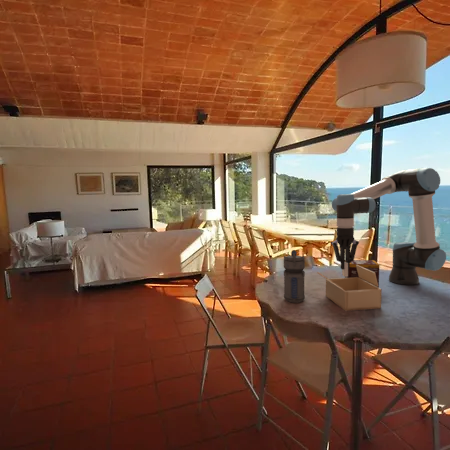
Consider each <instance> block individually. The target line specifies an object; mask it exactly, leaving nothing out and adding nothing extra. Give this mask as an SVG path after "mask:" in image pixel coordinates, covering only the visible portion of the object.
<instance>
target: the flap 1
mask: <svg viewBox="0 0 450 450" xmlns="http://www.w3.org/2000/svg"><path fill="white" fill-rule="evenodd" d="M317 274H318V275H320V276H321V277H323V278H324V279H325V280H326V279H327V280H329V281H331V280H330V279H331V278H328V277H327V276H325V275H324V274H322V273H321V272H318V271H317ZM331 282H332V283H334V282H333V281H331ZM334 284H335V285H337V284H336V283H334ZM337 286H338V287H340V288H342V287H341V286H339V285H337ZM342 289H343V288H342Z"/></svg>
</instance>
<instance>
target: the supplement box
mask: <svg viewBox="0 0 450 450" xmlns="http://www.w3.org/2000/svg"><path fill="white" fill-rule="evenodd" d="M345 262H346V261H345ZM356 265H359V266H361V267H363V268H366V269H368V270H370V271H373V272H375V274H376V278H377V282H378V286H376V285H374V284H372V283H370V282H368V281H366V280H364V279H362V278H360V277H359V275H358V271H357V267H356ZM354 277H358V278H360V279H362V280H364V281H366V282H368V283H370V284H372V285H374V286H376V287H378V288H380V263H378V262H377V261H376V260H374V259H354V261H351V263H350V268H349V269H348V276H346V277H345V276H344V278H354Z"/></svg>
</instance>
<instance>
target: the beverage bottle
mask: <svg viewBox="0 0 450 450" xmlns="http://www.w3.org/2000/svg"><path fill="white" fill-rule="evenodd" d="M290 253H291V255H287V256H286V255H284V256H283V268H284V270H283V280H284V281H283V282H284V283H283V284H284V285H283V286H284V287H283V289H284V292H283V293H284V294H283V298H284V300H285V302H288V303H294V304H298V303H302V302H304V300H305V277H306V276H305V275H306V272H305V270H304V269H305V266H306V264H305V262H306V261H305V259H306V258H305V256H304V255H303V256H301V255H297V250H295V249H292V251H291V252H290Z"/></svg>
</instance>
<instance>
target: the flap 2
mask: <svg viewBox="0 0 450 450" xmlns="http://www.w3.org/2000/svg"><path fill="white" fill-rule="evenodd" d="M356 267H357V271H358V275H359V277H360V278H362V279H364V280H366V281H368V282H370V283H372V284H374V285H376V286H378V282H377V278H376V274H375V272H373V271H370V270H368V269H366V268H363V267H361V266H359V265H356Z"/></svg>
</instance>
